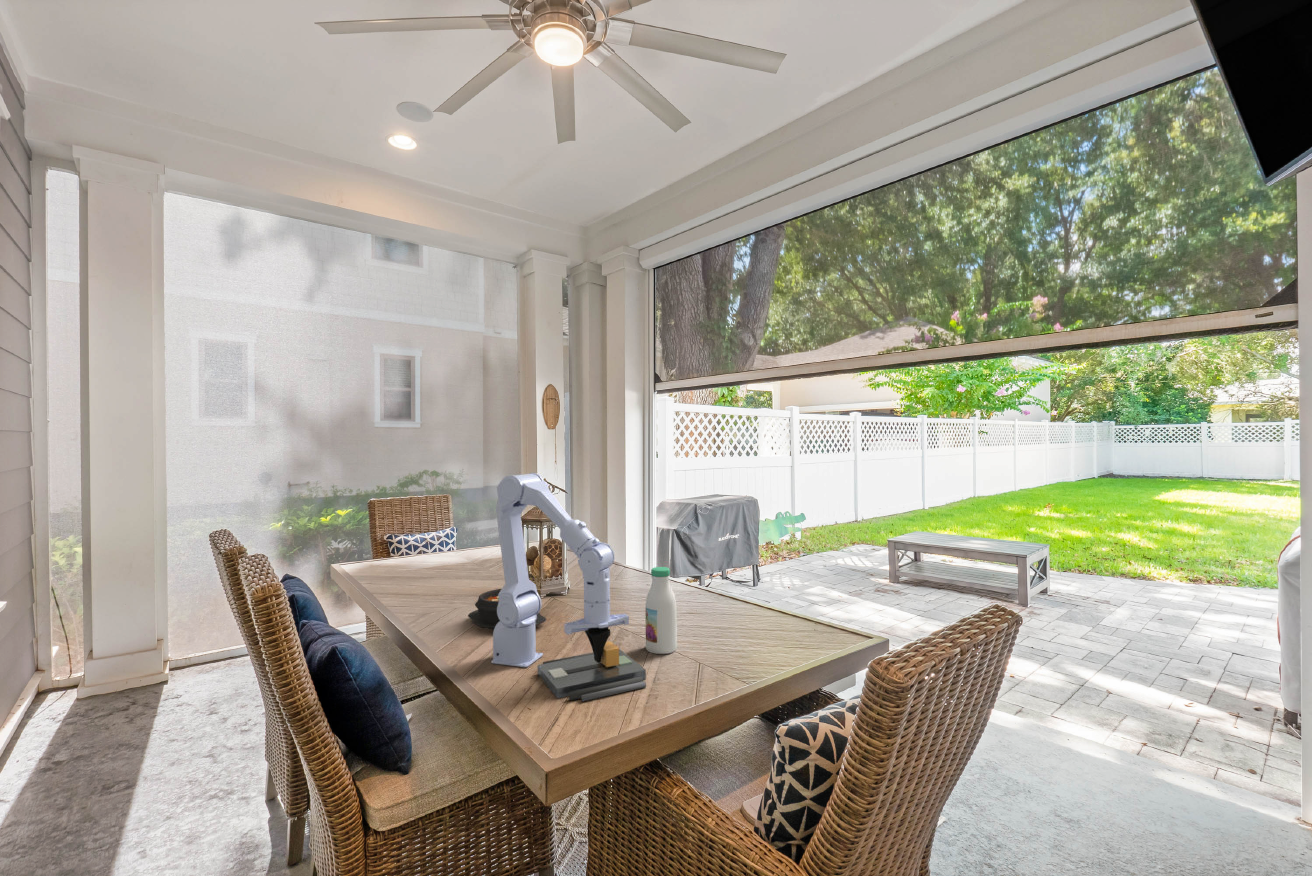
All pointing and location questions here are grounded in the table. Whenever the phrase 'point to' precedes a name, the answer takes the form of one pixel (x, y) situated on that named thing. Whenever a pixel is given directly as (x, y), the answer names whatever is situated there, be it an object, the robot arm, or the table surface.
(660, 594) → the milk bottle
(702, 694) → the table surface
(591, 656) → the grey flat slab
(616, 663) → the lever
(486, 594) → the casserole
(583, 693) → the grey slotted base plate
